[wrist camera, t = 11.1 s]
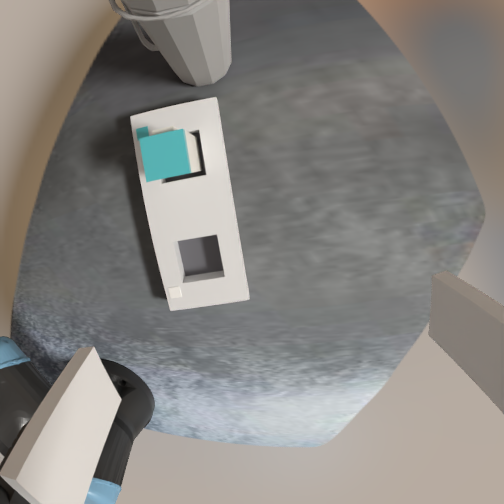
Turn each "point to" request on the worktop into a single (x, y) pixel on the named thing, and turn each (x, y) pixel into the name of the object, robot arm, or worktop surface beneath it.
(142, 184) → the panel
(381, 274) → the worktop surface
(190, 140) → the plug
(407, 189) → the worktop surface
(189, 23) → the water bottle
